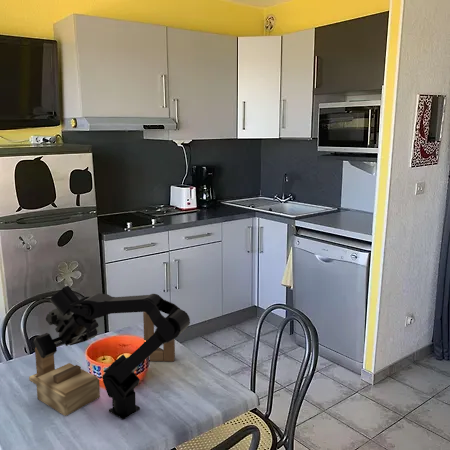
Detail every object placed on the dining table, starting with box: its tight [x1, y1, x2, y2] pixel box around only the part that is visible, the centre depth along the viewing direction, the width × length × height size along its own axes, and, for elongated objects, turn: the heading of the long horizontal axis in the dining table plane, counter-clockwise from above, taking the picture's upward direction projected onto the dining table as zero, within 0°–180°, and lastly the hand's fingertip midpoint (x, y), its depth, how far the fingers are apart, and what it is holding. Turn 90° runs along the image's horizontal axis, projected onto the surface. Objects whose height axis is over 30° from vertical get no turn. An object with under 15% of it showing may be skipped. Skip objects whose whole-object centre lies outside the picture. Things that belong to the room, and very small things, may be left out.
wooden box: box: [28, 372, 101, 417], centre depth 143 cm, size 26×12×6 cm, turn 53°
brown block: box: [34, 347, 56, 377], centre depth 149 cm, size 4×4×11 cm
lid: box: [37, 362, 99, 396], centre depth 138 cm, size 14×11×3 cm
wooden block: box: [142, 312, 176, 363], centre depth 162 cm, size 4×11×18 cm, turn 89°
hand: (56, 349), depth 143 cm, fingers open, 9 cm apart
